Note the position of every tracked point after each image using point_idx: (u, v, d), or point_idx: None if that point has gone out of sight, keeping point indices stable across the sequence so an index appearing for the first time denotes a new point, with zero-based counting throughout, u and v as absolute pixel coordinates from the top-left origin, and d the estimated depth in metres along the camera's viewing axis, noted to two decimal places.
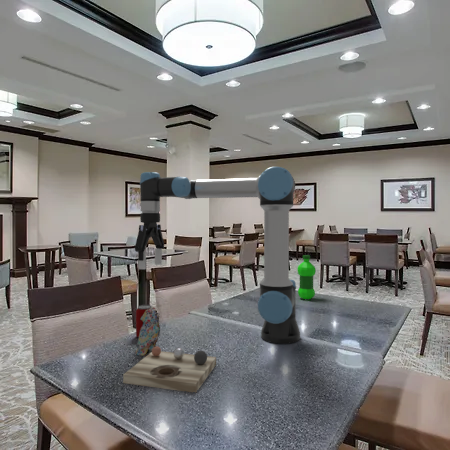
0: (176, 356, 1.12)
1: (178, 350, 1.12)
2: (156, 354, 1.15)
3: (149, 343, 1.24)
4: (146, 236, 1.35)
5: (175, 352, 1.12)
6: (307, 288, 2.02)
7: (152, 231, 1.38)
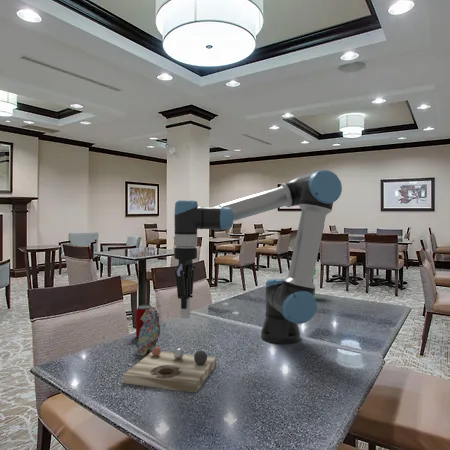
0: (176, 356, 1.12)
1: (178, 350, 1.12)
2: (156, 354, 1.15)
3: (149, 343, 1.24)
4: (185, 279, 1.17)
5: (175, 352, 1.12)
6: None
7: (189, 270, 1.17)
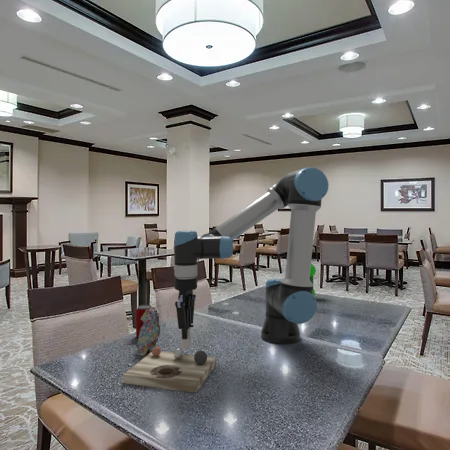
0: (176, 356, 1.12)
1: (178, 350, 1.12)
2: (156, 354, 1.15)
3: (149, 343, 1.24)
4: (185, 310, 1.17)
5: (175, 352, 1.12)
6: None
7: (189, 300, 1.18)
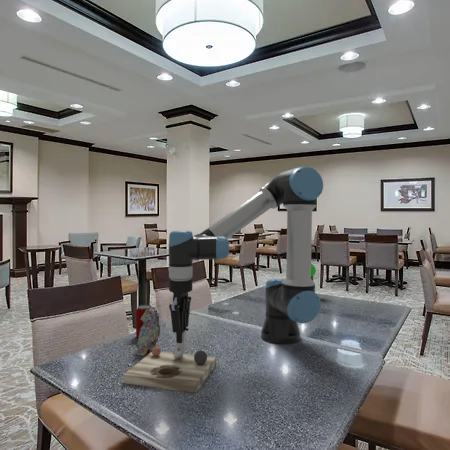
0: (176, 357, 1.12)
1: (178, 351, 1.12)
2: (156, 354, 1.15)
3: (149, 343, 1.24)
4: (180, 313, 1.13)
5: (175, 353, 1.12)
6: None
7: (184, 303, 1.14)
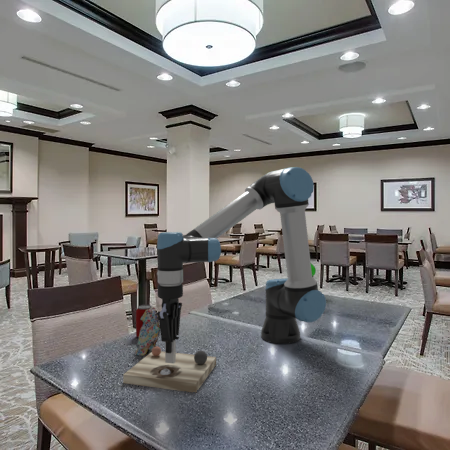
0: None
1: (164, 371, 1.03)
2: (156, 354, 1.15)
3: (149, 343, 1.24)
4: (169, 320, 1.05)
5: (161, 374, 1.02)
6: None
7: (174, 310, 1.05)
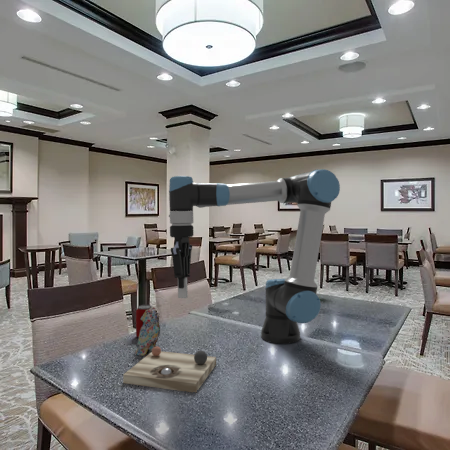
0: None
1: (166, 369, 1.04)
2: (156, 354, 1.15)
3: (149, 343, 1.24)
4: (181, 258, 1.13)
5: (163, 371, 1.03)
6: None
7: (186, 248, 1.14)
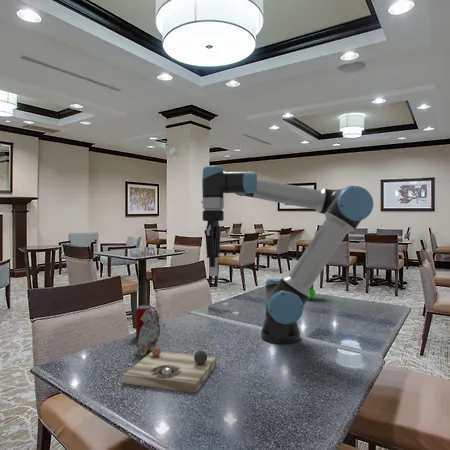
0: None
1: (167, 368, 1.04)
2: (156, 354, 1.15)
3: (149, 343, 1.24)
4: (213, 239, 1.26)
5: (163, 370, 1.04)
6: None
7: (217, 231, 1.27)
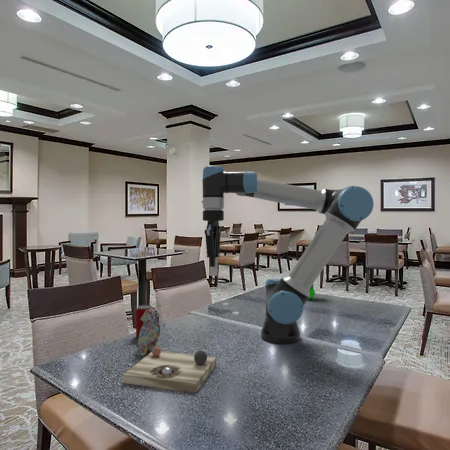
0: (165, 373, 1.03)
1: (167, 367, 1.05)
2: (156, 354, 1.15)
3: (149, 343, 1.24)
4: (213, 239, 1.26)
5: (164, 369, 1.04)
6: None
7: (217, 230, 1.27)
